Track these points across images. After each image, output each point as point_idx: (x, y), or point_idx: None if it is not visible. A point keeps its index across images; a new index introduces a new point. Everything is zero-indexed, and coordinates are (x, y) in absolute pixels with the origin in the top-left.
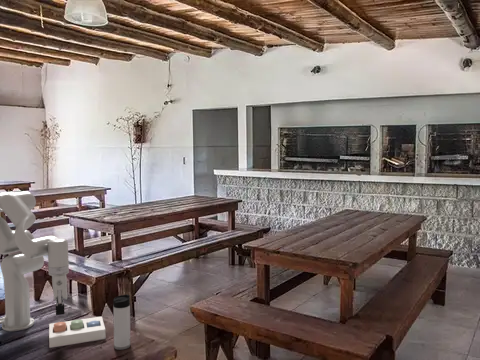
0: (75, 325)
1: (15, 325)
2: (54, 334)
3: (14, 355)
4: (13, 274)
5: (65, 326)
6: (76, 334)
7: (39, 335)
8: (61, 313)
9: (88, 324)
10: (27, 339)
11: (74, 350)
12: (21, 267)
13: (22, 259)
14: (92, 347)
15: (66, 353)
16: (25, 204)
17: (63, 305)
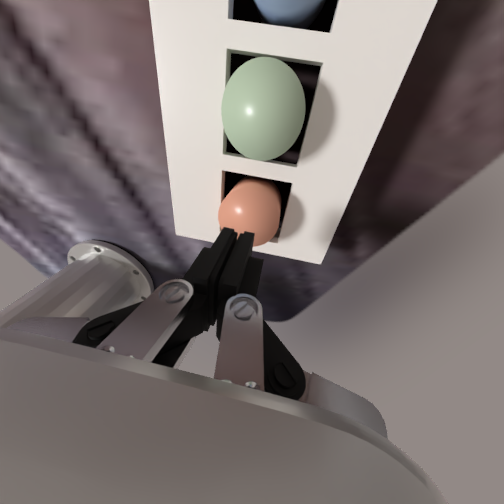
0: (298, 134)
1: (137, 293)
2: (300, 242)
3: (300, 312)
4: None
5: (266, 192)
6: (373, 143)
7: (201, 246)
8: (251, 253)
9: (295, 4)
10: None
11: (422, 164)
12: None
13: None
14: (492, 50)
15: (417, 202)
16: None
17: (237, 284)
